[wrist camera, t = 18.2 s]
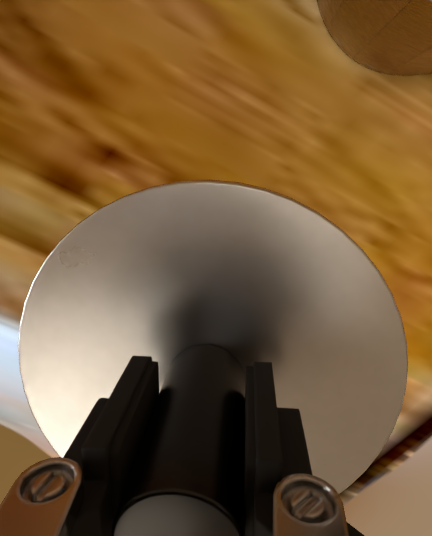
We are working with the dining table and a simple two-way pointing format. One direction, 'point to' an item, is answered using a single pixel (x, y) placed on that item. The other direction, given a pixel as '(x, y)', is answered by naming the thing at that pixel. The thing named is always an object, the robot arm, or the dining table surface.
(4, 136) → the dining table surface
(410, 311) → the dining table surface
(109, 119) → the dining table surface
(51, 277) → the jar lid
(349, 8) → the steel jar
